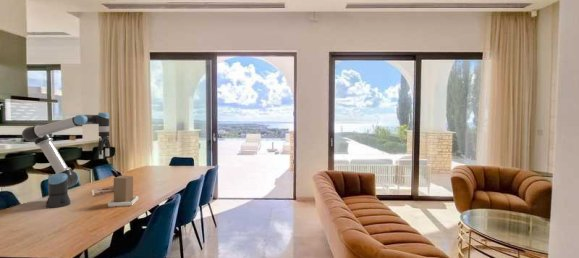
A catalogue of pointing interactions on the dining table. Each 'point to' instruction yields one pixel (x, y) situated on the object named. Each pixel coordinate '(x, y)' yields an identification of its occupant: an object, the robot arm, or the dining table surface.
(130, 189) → the wooden block
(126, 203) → the dish
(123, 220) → the dining table surface
